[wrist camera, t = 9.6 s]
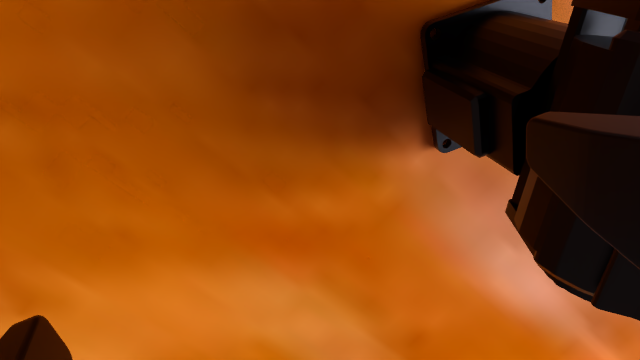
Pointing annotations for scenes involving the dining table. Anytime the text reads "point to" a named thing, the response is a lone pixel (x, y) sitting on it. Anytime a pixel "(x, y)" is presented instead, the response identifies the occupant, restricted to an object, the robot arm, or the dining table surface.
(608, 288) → the robot arm
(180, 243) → the dining table surface
